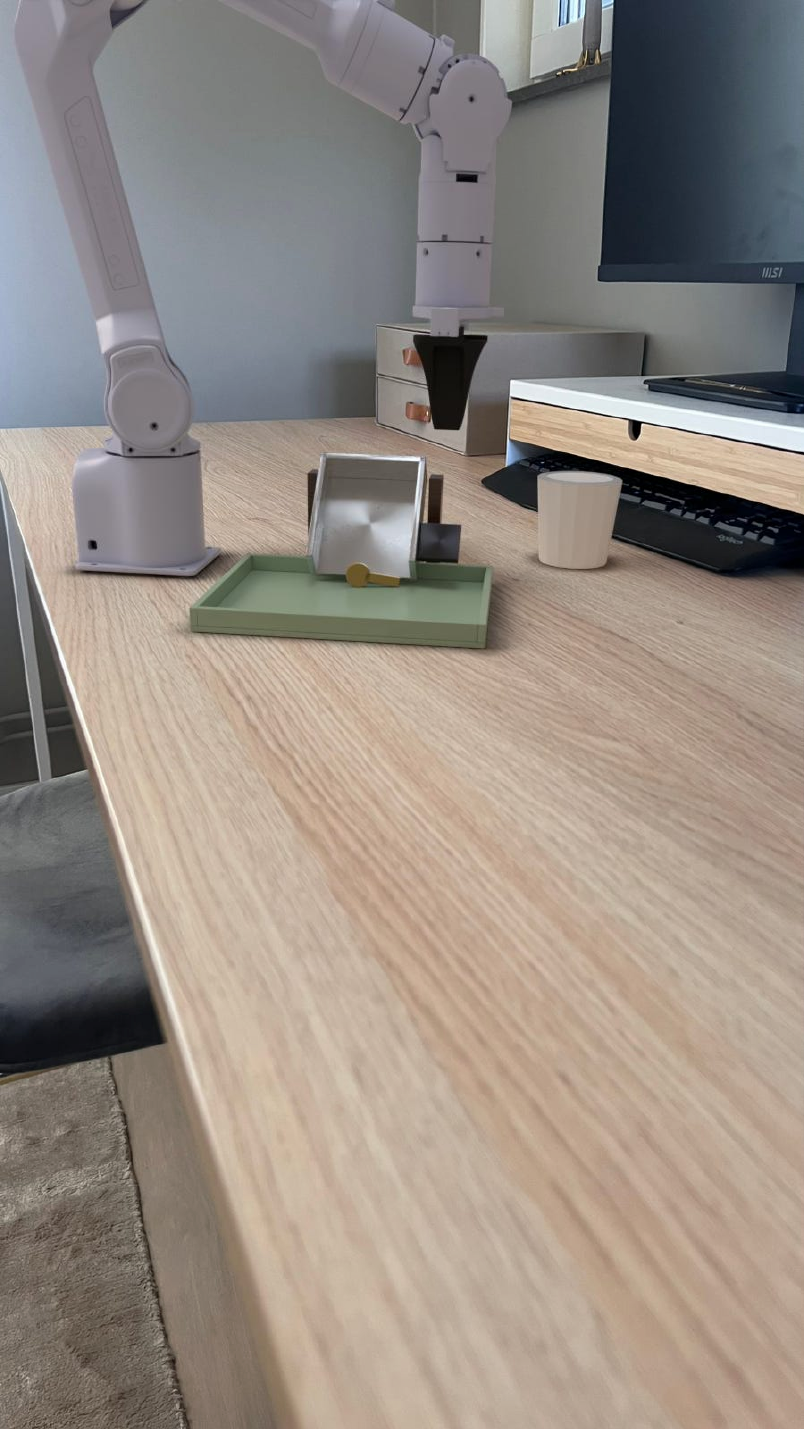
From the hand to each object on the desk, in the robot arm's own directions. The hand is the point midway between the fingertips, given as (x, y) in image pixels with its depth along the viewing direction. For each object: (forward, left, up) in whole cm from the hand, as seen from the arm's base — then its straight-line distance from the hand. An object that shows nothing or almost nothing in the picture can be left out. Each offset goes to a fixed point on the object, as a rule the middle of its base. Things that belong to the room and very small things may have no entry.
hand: (447, 429), depth 83 cm
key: (-4, -12, -9) cm, 16 cm away
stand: (-5, -5, -10) cm, 13 cm away
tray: (-5, -16, -10) cm, 20 cm away
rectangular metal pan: (-4, -8, -6) cm, 11 cm away
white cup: (+11, +1, -11) cm, 15 cm away
